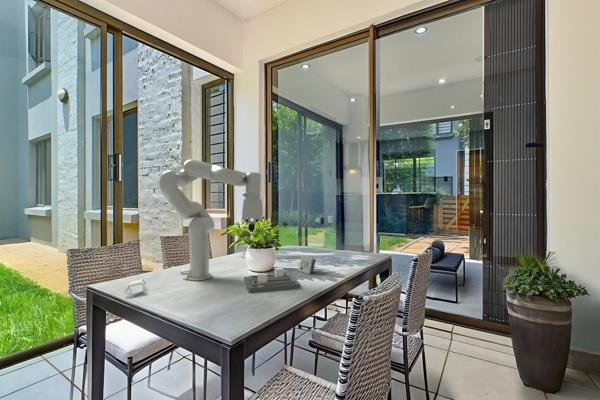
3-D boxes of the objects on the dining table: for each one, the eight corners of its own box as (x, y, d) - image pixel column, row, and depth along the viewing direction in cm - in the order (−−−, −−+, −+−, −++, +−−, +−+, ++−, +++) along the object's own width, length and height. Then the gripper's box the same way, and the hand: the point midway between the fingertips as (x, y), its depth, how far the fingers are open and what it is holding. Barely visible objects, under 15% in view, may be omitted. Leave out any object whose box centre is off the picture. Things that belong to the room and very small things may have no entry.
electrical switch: (297, 271, 176) (299, 255, 177) (304, 270, 180) (305, 254, 180) (308, 274, 169) (310, 257, 170) (315, 274, 173) (317, 257, 173)
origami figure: (144, 296, 133) (144, 284, 133) (123, 297, 132) (123, 285, 132) (152, 287, 145) (152, 277, 145) (133, 288, 143) (133, 278, 143)
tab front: (258, 284, 143) (258, 275, 143) (257, 282, 146) (257, 273, 146) (267, 284, 144) (267, 274, 144) (265, 282, 147) (265, 273, 147)
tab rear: (276, 278, 154) (276, 269, 154) (274, 276, 158) (274, 267, 158) (283, 277, 155) (283, 268, 155) (282, 275, 159) (282, 267, 159)
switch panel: (248, 292, 138) (248, 286, 138) (244, 280, 157) (244, 274, 157) (300, 288, 145) (300, 282, 145) (289, 277, 164) (289, 271, 164)
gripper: (238, 196, 154) (237, 232, 154) (268, 197, 157) (266, 232, 158) (237, 195, 161) (236, 230, 161) (266, 196, 165) (264, 231, 165)
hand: (251, 231), depth 160 cm, fingers closed
